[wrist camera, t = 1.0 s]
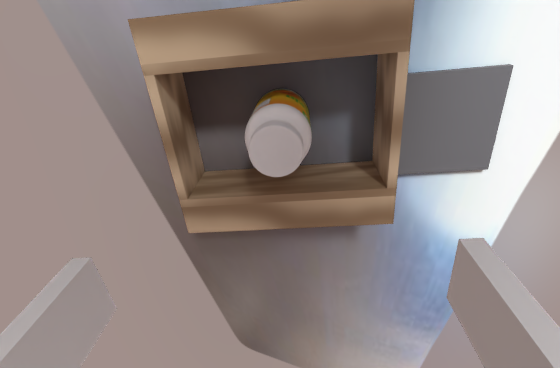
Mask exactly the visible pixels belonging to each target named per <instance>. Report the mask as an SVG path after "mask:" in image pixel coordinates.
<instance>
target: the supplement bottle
mask: <svg viewBox="0 0 560 368" xmlns="http://www.w3.org/2000/svg"><path fill="white" fill-rule="evenodd" d="M311 141H312V133H311V125H310V116H309V110H308V107H307V104H306V103H305V101H304V99H303V98H302V97H301V96H300V95H299V94H297V93H296V92H294V91H291V90H288V89H275V90H272V91H270V92H268V93H267V94H265V95H264V96H263V97H262V98H261V99H260V100H259V102H258V103H257V105H256V107H255V109H254V111H253V113H252V115H251V117H250V119H249V121H248V124H247V126H246V130H245V144H246V147H247V150H248V154H249V158H250V161H251V163H252V164H253V166H254V167H255V168H256V169H257V170H258V171H259V172H261V173H262V174H264V175H267V176H271V177H282V176H286V175H289V174H290V173H292V172H294V171H295V170H296V169H297V168H298V167H299V165H300V164H301V162H302V160H303V159H304V158H305V156H306V155H307V153H308V151H309V149H310V146H311Z"/></svg>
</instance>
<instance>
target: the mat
mask: <svg viewBox="0 0 560 368" xmlns="http://www.w3.org/2000/svg"><path fill="white" fill-rule="evenodd" d="M512 69H513V65H510V64H508V65H497V66H485V67H474V68H462V69H451V70H439V71H428V72H416V73H407V84H406V94H405V105H404V115H403V125H402V136H401V146H400V157H399V167H398V175H401V174H418V173H434V172H451V171H468V170H485V169H488V167H489V163H490V159H491V154H492V150H493V146H494V142H495V138H496V134H497V130H498V126H499V122H500V118H501V114H502V110H503V106H504V102H505V98H506V93H507V89H508V85H509V81H510V77H511V73H512Z"/></svg>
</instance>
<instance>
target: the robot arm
mask: <svg viewBox="0 0 560 368" xmlns="http://www.w3.org/2000/svg"><path fill="white" fill-rule="evenodd" d="M447 299H448V301H449V303H450V305H451V306H452V308H453V310H454V312H455V314H456V316H457V318H458V319H459V321H460V323H461V325H462V327H463V329H464V330H465V332H466V334H467V336H468V338H469V340H470V342H471V344H472V346H473V347H474V349H475V351H476V353H477V355H478V357H479V359H480V360H481V362H482V364H483V366H484V368H560V328H559V326H558V325H557V324H556V323H555V322H554V321H553V319H552V318H551V317H550V316H549V315H548V313H547V312H546V311H545V310H544V309H543V308H542V306H541V305H540V304H539V303H538V302H537V301H536V299H535V298H534V297H533V296H532V295H531V294H530V292H529V291H528V290H527V289H526V288H525V287H524V285H523V284H522V283H521V282H520V281H519V279H518V278H517V277H516V276H515V275H514V274H513V272H512V271H511V270H510V269H509V268H508V267H507V265H506V264H505V263H504V262H503V261H502V259H501V258H500V257H499V256H498V255H497V254H496V253H495V251H494V250H493V249H492V248H491V247H490V245H489V244H488V243H487V242H486V241H485V240H484V238H473V239H459V241H458V246H457V251H456V256H455V260H454V265H453V270H452V275H451V279H450V284H449V289H448V294H447ZM116 309H117V307H116V306H115V304H114V302H113V300H112V298H111V296H110V294H109V292H108V290H107V288H106V286H105V284H104V282H103V280H102V278H101V276H100V274H99V272H98V270H97V268H96V266H95V264H94V262H93V260H92V259H91V258H72V259H71V260H70V261H69V262H68V263H67V264H66V265H65V266H64V267H63V269H62V270H61V271H60V272H59V273H58V274H57V275H56V276H55V277H54V278H53V279H52V280H51V281H50V282H49V283H48V284H47V285H46V287H45V288H44V289H43V290H42V291H41V292H40V293H39V294H38V295H37V296H36V297H35V298H34V299H33V300H32V301H31V302H30V303H29V304H28V305H27V307H26V308H25V309H24V310H23V311H22V312H21V313H20V314H19V315H18V316H17V317H16V318H15V319H14V320H13V321H12V322H11V324H10V325H9V326H8V327H7V328H6V329H5V330H4V331H3V332H2V333H1V334H0V368H80V367H81V365H82V364H83V362H84V360H85V359H86V357H87V355H88V354H89V352H90V351H91V349H92V348H93V346H94V344H95V343H96V341H97V340H98V338H99V336H100V335H101V333H102V332H103V330H104V328H105V327H106V325H107V324H108V322H109V320H110V319H111V317H112V316H113V314H114V312H115V311H116Z"/></svg>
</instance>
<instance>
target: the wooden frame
mask: <svg viewBox="0 0 560 368" xmlns="http://www.w3.org/2000/svg"><path fill="white" fill-rule="evenodd" d="M413 11H414V0H300V1H291V2H282V3H273V4H264V5H255V6H246V7H237V8H228V9H219V10H209V11H200V12H191V13H182V14H173V15H164V16H155V17H146V18H137V19H128V22H129V26H130V29H131V33H132V36H133V40H134V43H135V47H136V50H137V54H138V57H139V61H140V64H141V68H142V71H143V75H144V78H145V82H146V85H147V89H148V92H149V96H150V99H151V103H152V106H153V110H154V113H155V117H156V120H157V124H158V127H159V131H160V134H161V138H162V141H163V145H164V148H165V152H166V155H167V159H168V162H169V166H170V169H171V173H172V176H173V180H174V183H175V187H176V190H177V194H178V197H179V201H180V204H181V208H182V211H183V215H184V218H185V222H186V225H187V229H188V233H203V232H224V231H246V230H267V229H289V228H310V227H332V226H354V225H375V224H393V219H394V209H395V198H396V188H397V178H398V167H399V157H400V146H401V136H402V125H403V115H404V105H405V94H406V84H407V73H408V63H409V52H410V42H411V32H412V21H413ZM375 54H378V58H377V77H376V97H375V116H374V136H373V155H372V161H362V162H346V163H330V164H315V165H299V167H298V168H297V169H296V170H295V171H294V172H292V173H290V174H289V175H286V176H282V177H271V176H267V175H264V174H262V173H261V172H259V171H258V170H257V169H256V168H252V169H236V170H221V171H205V170H204V166H203V161H202V157H201V153H200V148H199V144H198V139H197V135H196V131H195V126H194V122H193V118H192V113H191V109H190V104H189V100H188V96H187V91H186V87H185V83H184V78H183V74H182V72H192V71H203V70H214V69H224V68H235V67H246V66H257V65H267V64H278V63H289V62H299V61H310V60H321V59H332V58H342V57H353V56H364V55H375Z"/></svg>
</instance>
